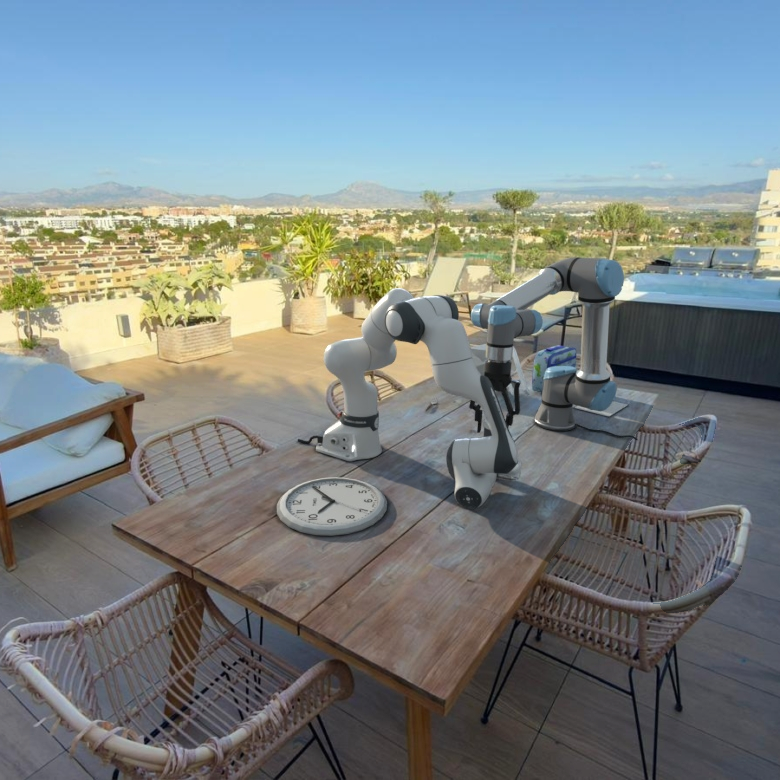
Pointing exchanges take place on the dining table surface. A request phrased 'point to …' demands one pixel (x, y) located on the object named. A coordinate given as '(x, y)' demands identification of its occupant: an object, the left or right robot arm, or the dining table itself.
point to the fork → (432, 403)
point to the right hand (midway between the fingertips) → (492, 433)
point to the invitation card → (609, 411)
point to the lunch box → (551, 363)
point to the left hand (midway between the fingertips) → (491, 455)
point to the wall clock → (331, 506)
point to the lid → (486, 424)
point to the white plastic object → (480, 358)
